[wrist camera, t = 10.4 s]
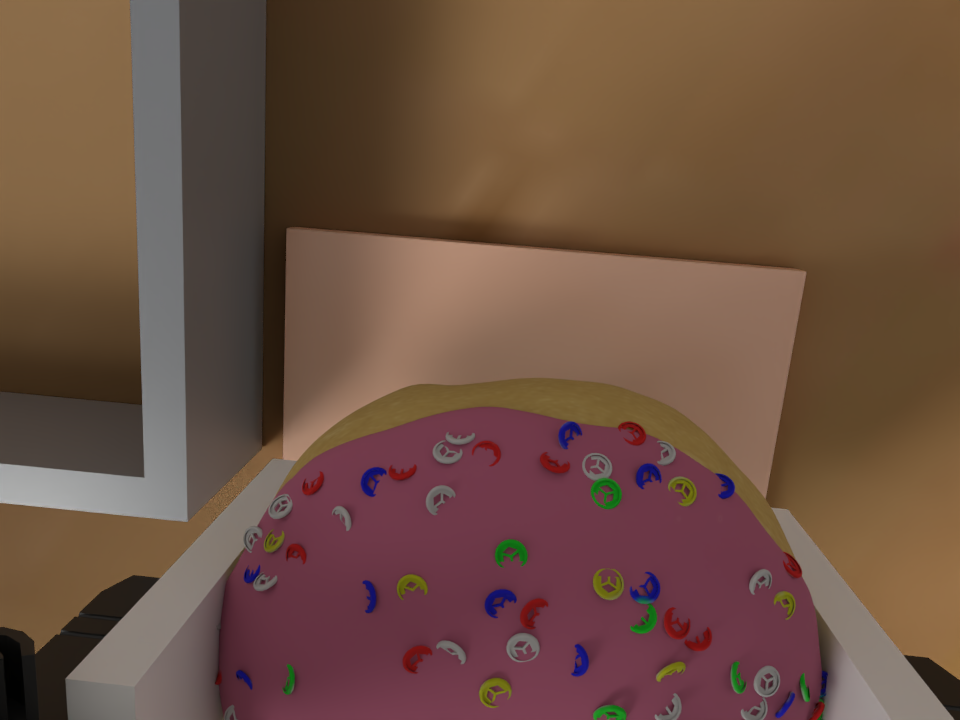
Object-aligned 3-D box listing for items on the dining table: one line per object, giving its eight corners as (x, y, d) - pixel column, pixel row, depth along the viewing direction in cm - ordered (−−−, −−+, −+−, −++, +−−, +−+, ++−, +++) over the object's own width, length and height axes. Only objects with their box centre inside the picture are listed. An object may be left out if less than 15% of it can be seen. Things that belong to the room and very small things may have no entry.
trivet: (287, 659, 19) (279, 674, 18) (295, 226, 16) (286, 228, 16) (718, 706, 19) (724, 723, 18) (796, 268, 16) (806, 271, 15)
